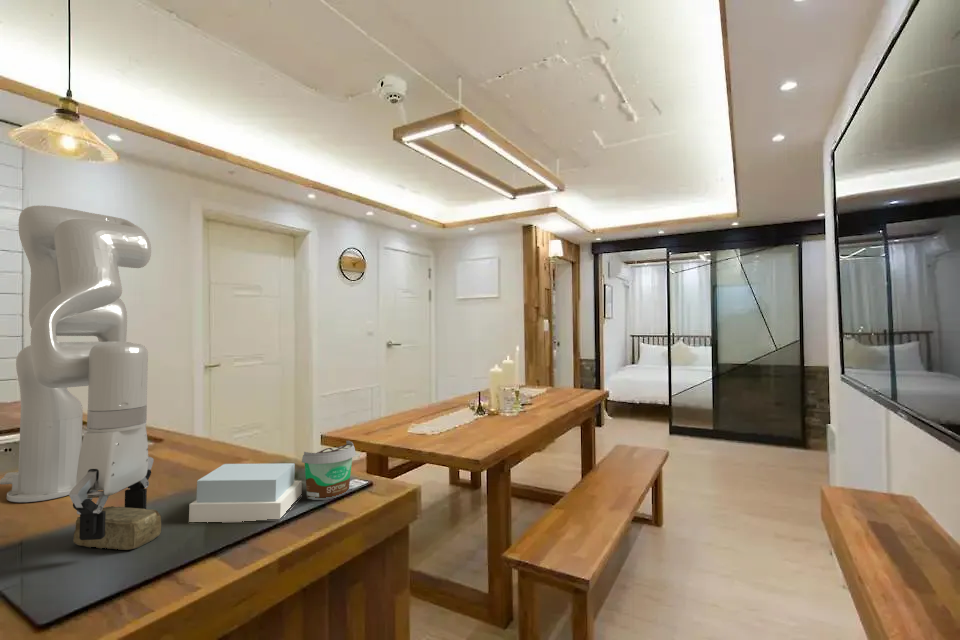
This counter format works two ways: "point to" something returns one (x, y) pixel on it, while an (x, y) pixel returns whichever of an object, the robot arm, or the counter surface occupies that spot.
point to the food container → (328, 471)
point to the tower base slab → (244, 508)
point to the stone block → (124, 528)
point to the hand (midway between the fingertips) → (115, 525)
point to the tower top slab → (246, 483)
